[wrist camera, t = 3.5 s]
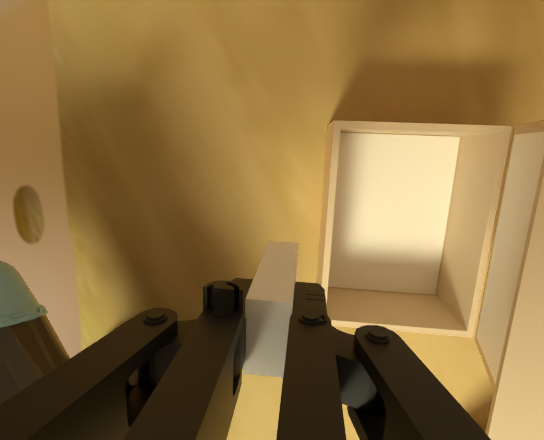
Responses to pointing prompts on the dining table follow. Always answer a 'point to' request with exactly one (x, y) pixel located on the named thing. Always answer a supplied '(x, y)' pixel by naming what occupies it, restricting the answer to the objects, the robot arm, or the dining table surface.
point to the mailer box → (408, 223)
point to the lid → (517, 296)
